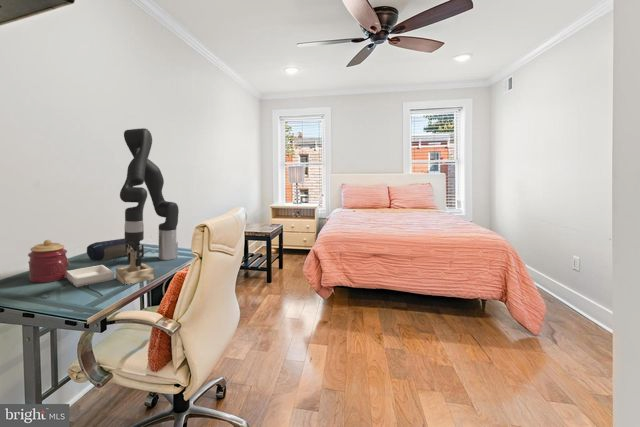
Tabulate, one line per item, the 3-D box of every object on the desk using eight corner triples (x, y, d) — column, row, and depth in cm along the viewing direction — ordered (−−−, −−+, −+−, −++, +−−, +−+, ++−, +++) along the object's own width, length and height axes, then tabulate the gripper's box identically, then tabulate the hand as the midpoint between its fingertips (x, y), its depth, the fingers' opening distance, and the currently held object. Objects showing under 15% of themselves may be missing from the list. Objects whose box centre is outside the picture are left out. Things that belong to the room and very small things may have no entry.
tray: (102, 271, 148) (102, 264, 147) (113, 279, 139) (113, 272, 139) (66, 278, 136) (66, 270, 136) (76, 287, 128) (75, 279, 128)
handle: (138, 281, 140) (138, 249, 138) (124, 280, 139) (124, 248, 137) (144, 277, 144) (144, 247, 142) (131, 276, 144) (130, 246, 142)
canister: (74, 276, 139) (72, 239, 136) (39, 285, 127) (36, 245, 125) (58, 271, 144) (56, 235, 141) (23, 279, 132) (20, 240, 130)
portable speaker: (93, 263, 158) (93, 245, 156) (84, 259, 162) (84, 241, 161) (142, 254, 179) (142, 238, 178) (133, 251, 184) (132, 235, 183)
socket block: (143, 272, 150) (143, 263, 149) (153, 278, 143) (153, 268, 143) (115, 278, 140) (115, 268, 140) (125, 285, 134) (125, 274, 133)
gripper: (149, 232, 137) (149, 266, 140) (136, 226, 146) (136, 259, 148) (131, 233, 131) (131, 269, 134) (118, 228, 140) (119, 261, 142)
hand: (134, 263), depth 141 cm, fingers open, 8 cm apart
